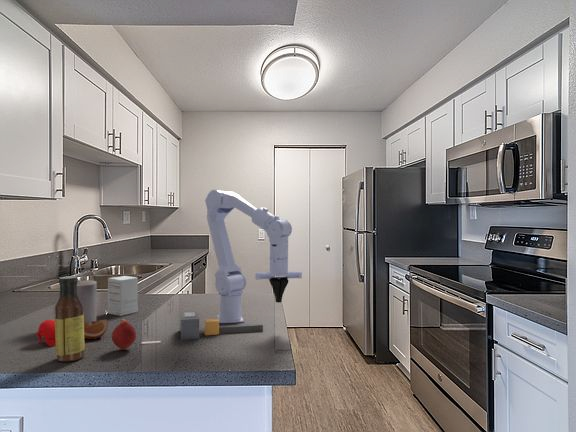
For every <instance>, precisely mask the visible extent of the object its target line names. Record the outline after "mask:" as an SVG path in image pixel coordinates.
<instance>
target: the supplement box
mask: <svg viewBox="0 0 576 432" xmlns="http://www.w3.org/2000/svg"><path fill="white" fill-rule="evenodd" d="M107 281H108V282H107V283H108V284H107V286H108V288H107V313H108V314H110V315H114V316H119V317H122V316H126V315H130V314H135V313H137V312H138V311H139V310H138V309H139V307H138V306H139V303H138V302H139V298H138V297H139V292H138V291H139V289H138V288H139V286H138V285H139V277H136V276H128V275H123V276H121V275H120V276H115V277H108V278H107Z"/></svg>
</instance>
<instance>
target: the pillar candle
mask: <svg viewBox="0 0 576 432" xmlns="http://www.w3.org/2000/svg"><path fill="white" fill-rule="evenodd" d="M97 283H98V282H97V281H96V280H91V279H81V278H79V280H78V282H77V292H78V297H79V300H80V302H81V304H82V307H83V312H84V323H91V322H92V321H97V304H98V303H97V297H98V295H97V293H98V292H97V291H98V289H97V288H98V287H97V286H98V284H97Z"/></svg>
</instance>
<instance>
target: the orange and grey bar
mask: <svg viewBox="0 0 576 432" xmlns="http://www.w3.org/2000/svg"><path fill="white" fill-rule="evenodd" d="M203 327H204V328H203V329H204V336H212V335H213V336H215V335H216V336H217V335H220V334H233V333H250V332H252V333H253V332H264V324H263V323H250V324H249V323H248V324H234V325H233V324H231V325H230V324H229V325H220V323H219V319H218V318H217V317H215V318H212V317H211V318H204V326H203Z"/></svg>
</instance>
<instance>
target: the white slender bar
mask: <svg viewBox="0 0 576 432" xmlns="http://www.w3.org/2000/svg"><path fill="white" fill-rule="evenodd" d="M161 343H162V342H161V340H155V341H142V342H141V344H140V345H151V344H152V345H154V344H161Z"/></svg>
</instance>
